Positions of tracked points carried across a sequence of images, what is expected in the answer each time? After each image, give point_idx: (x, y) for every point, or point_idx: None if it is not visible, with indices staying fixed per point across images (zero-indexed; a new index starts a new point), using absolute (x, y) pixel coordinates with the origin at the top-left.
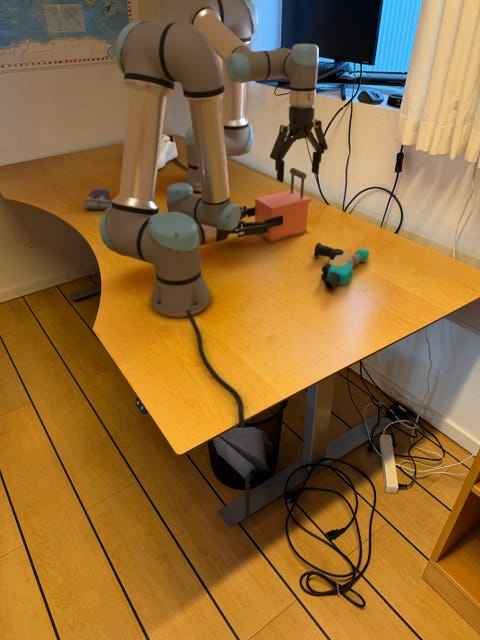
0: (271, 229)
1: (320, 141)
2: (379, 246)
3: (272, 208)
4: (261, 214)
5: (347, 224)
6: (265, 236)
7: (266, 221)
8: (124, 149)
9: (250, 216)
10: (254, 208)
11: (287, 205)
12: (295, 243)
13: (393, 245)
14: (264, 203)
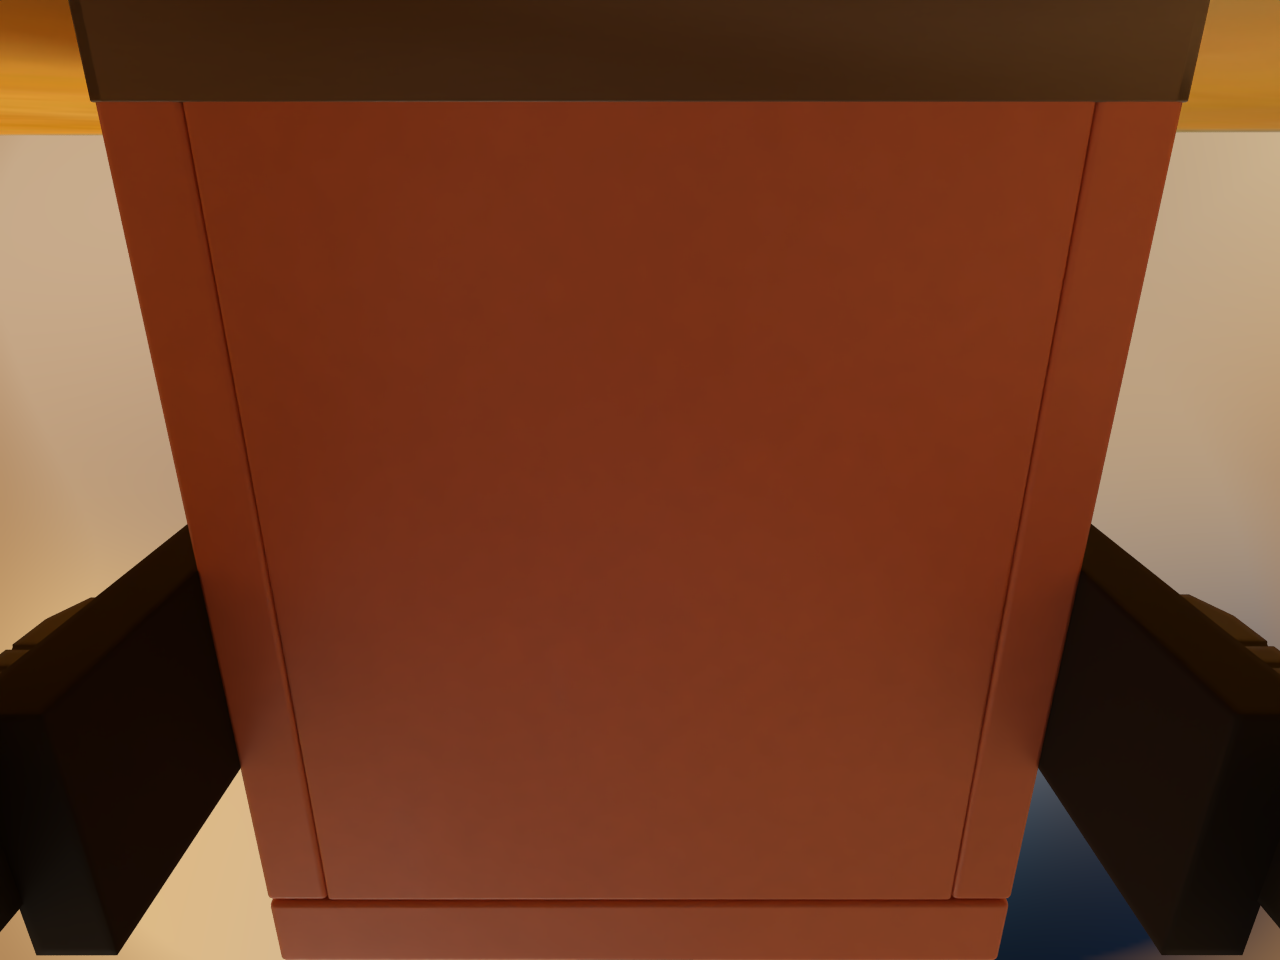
0: (184, 471)
1: None
2: (18, 123)
3: (287, 941)
4: (719, 709)
5: None
6: (443, 88)
7: (48, 916)
8: None
9: (1179, 668)
10: (1052, 768)
11: None
12: (42, 61)
13: (45, 128)
14: (610, 949)
